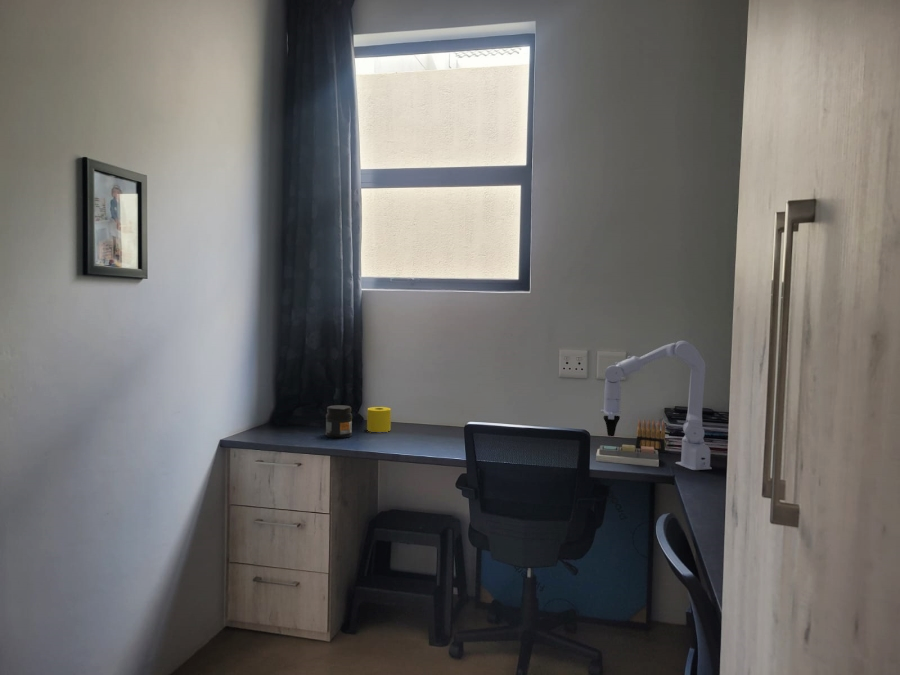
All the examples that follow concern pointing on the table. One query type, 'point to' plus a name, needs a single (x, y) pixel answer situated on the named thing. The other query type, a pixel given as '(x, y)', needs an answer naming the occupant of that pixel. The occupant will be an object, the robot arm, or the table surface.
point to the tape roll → (379, 419)
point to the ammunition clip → (651, 436)
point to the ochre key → (628, 448)
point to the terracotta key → (647, 449)
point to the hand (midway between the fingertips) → (611, 435)
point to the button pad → (627, 457)
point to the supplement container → (338, 421)
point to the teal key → (609, 448)
